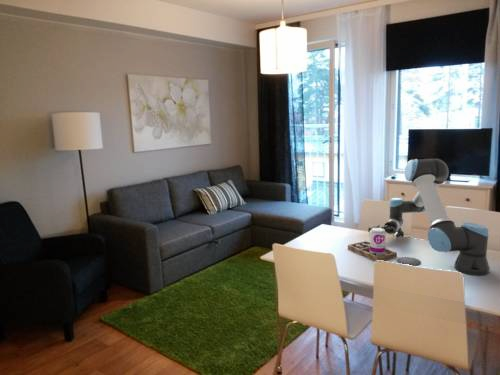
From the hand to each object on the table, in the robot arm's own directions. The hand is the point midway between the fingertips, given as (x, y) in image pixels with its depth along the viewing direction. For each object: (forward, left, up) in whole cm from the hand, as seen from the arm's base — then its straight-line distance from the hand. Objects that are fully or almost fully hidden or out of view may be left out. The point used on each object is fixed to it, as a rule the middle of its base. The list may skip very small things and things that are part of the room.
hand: (381, 235), depth 225 cm
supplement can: (-4, +8, -9) cm, 13 cm away
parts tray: (0, +8, -9) cm, 12 cm away
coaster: (-20, +1, -9) cm, 22 cm away
